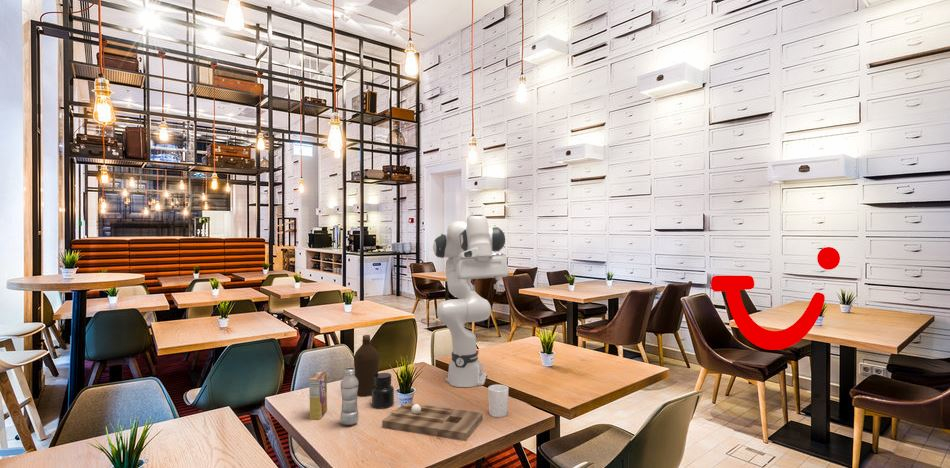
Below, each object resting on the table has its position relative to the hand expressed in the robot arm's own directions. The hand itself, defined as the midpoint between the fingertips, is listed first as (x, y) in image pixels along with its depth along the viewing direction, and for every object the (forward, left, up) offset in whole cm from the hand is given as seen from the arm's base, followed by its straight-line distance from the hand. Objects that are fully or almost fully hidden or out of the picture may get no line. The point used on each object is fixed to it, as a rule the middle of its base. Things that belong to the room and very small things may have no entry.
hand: (484, 289), depth 169 cm
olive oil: (-8, -57, -48) cm, 75 cm away
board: (+12, -16, -48) cm, 52 cm away
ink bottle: (+2, -43, -48) cm, 65 cm away
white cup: (-4, +4, -48) cm, 49 cm away
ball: (+12, -23, -44) cm, 51 cm away
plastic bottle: (+22, -45, -48) cm, 69 cm away
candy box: (+19, -61, -48) cm, 80 cm away
